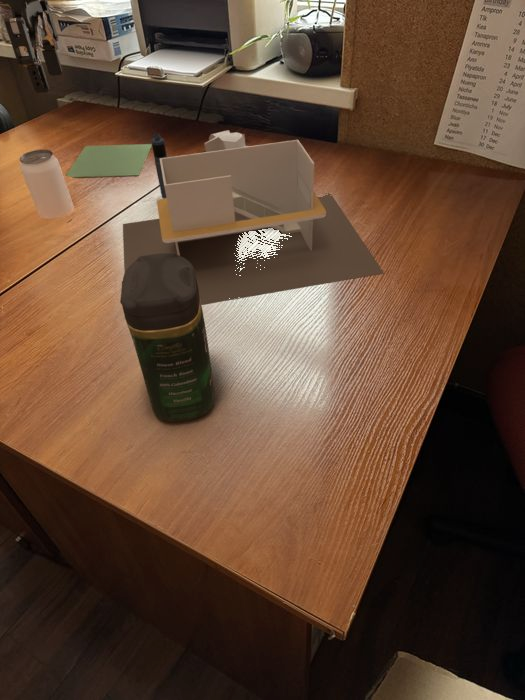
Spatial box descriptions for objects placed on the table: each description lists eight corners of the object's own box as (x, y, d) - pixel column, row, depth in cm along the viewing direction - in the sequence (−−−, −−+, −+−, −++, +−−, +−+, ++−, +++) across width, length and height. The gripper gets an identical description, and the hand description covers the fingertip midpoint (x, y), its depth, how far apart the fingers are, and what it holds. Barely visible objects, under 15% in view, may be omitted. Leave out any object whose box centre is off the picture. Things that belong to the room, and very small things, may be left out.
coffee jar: (219, 419, 60) (198, 296, 47) (152, 429, 59) (112, 308, 46) (212, 362, 66) (192, 241, 53) (152, 370, 66) (117, 250, 53)
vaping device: (167, 191, 101) (156, 130, 93) (187, 198, 99) (177, 136, 90) (158, 196, 100) (146, 135, 91) (178, 203, 97) (167, 141, 89)
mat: (64, 178, 108) (64, 177, 107) (85, 146, 119) (85, 146, 119) (138, 175, 107) (138, 175, 107) (152, 144, 118) (152, 143, 118)
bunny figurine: (234, 123, 115) (264, 137, 104) (237, 146, 118) (266, 162, 107) (195, 132, 112) (222, 148, 101) (200, 156, 115) (226, 173, 104)
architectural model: (170, 280, 80) (152, 193, 69) (164, 238, 89) (147, 155, 78) (326, 255, 83) (330, 167, 72) (304, 216, 92) (305, 133, 81)
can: (81, 219, 95) (60, 156, 86) (47, 230, 92) (22, 167, 84) (69, 206, 99) (49, 145, 90) (37, 216, 96) (12, 155, 88)
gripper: (1, -47, 76) (39, 71, 88) (-35, -31, 66) (13, 99, 78) (50, -50, 76) (82, 68, 88) (22, -35, 66) (62, 96, 78)
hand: (49, 83), depth 83 cm, fingers open, 8 cm apart
